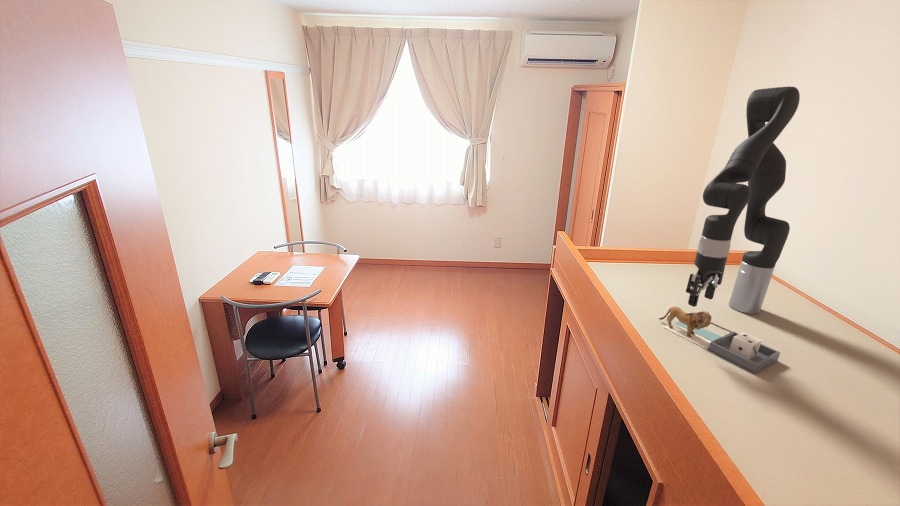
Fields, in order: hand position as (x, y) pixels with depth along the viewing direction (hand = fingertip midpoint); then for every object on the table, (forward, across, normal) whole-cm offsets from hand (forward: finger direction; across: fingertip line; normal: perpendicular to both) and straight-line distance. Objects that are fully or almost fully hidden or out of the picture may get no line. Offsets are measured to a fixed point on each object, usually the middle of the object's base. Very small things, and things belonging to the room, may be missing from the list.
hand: (700, 301), depth 120 cm
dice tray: (+12, -3, +13) cm, 18 cm away
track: (+12, -5, 0) cm, 13 cm away
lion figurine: (+12, 0, -3) cm, 12 cm away
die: (+12, -3, +13) cm, 18 cm away
